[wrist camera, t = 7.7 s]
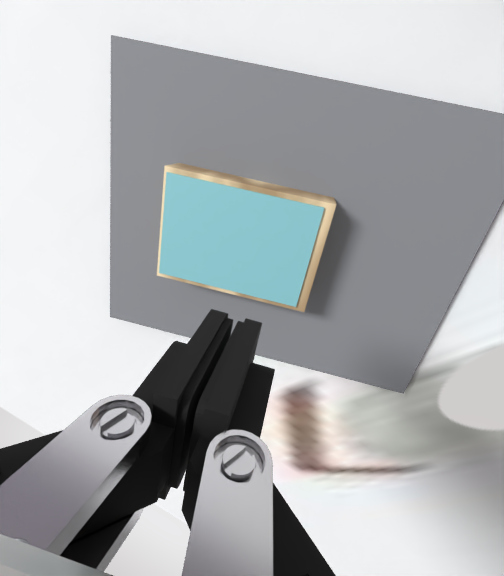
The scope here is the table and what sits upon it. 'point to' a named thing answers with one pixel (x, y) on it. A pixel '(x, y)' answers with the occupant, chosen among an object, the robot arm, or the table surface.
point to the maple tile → (241, 235)
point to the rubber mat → (312, 178)
